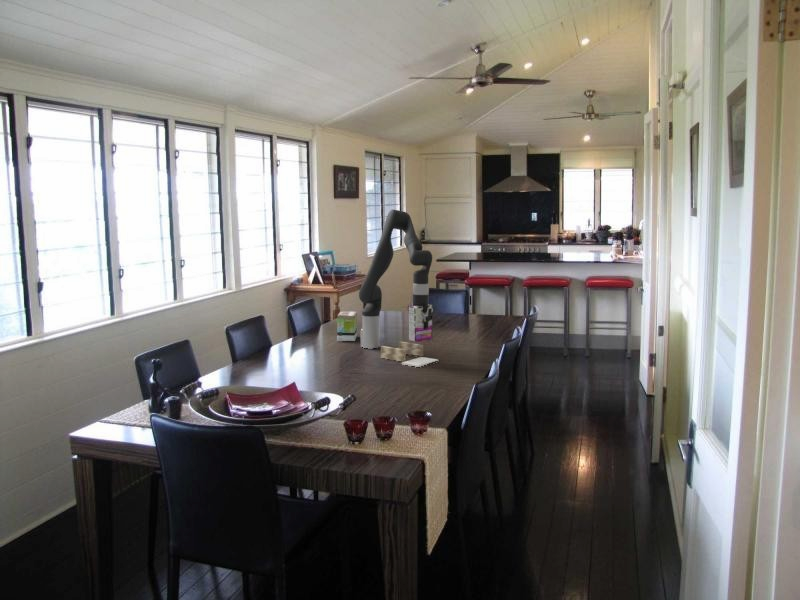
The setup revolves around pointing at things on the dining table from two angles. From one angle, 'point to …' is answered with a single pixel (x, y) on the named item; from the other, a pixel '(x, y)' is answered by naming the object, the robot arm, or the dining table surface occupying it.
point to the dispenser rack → (401, 351)
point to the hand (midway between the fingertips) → (420, 328)
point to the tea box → (346, 326)
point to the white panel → (419, 361)
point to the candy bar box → (418, 325)
